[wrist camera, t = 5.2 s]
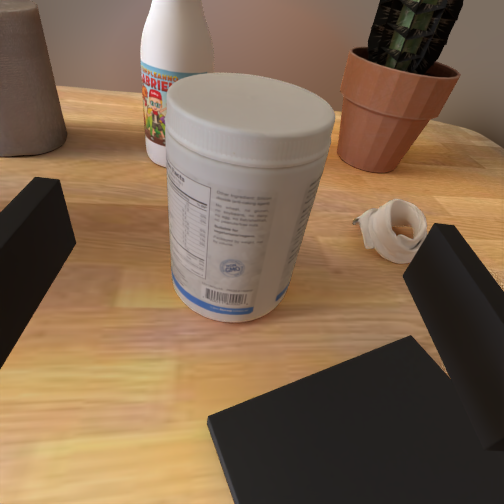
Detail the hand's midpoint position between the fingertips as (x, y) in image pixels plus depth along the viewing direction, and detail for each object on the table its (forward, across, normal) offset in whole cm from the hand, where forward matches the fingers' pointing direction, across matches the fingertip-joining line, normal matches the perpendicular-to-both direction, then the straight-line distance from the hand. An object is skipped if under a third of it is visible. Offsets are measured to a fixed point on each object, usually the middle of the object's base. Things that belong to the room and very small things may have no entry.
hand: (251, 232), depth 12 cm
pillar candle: (+30, -26, -13) cm, 41 cm away
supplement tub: (+10, 0, -13) cm, 16 cm away
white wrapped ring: (+17, +16, -13) cm, 27 cm away
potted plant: (+37, +19, -13) cm, 44 cm away
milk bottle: (+30, -8, -13) cm, 34 cm away
